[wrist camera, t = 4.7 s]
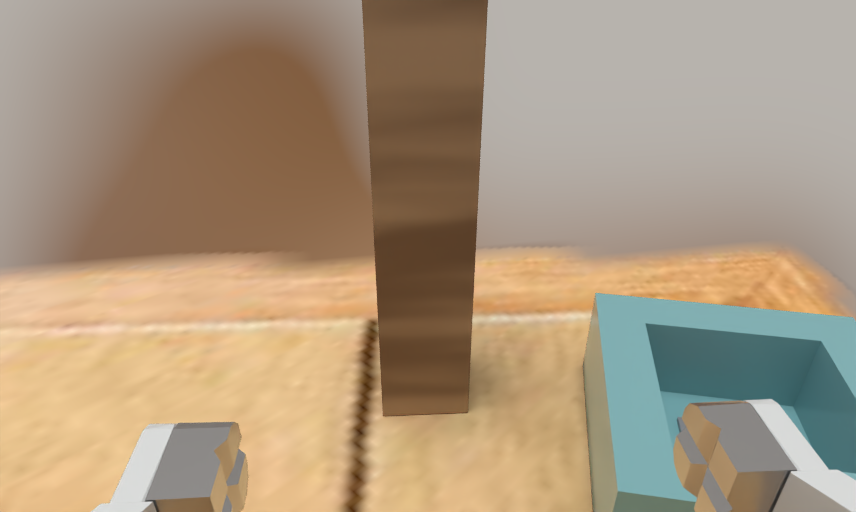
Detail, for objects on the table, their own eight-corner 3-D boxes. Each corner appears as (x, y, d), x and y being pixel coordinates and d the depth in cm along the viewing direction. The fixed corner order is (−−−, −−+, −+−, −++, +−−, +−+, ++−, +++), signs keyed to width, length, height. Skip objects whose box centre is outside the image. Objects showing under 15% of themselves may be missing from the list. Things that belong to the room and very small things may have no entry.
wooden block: (467, 412, 25) (492, -85, 16) (383, 415, 25) (357, -85, 16) (459, 356, 28) (475, -89, 19) (383, 359, 28) (362, -89, 19)
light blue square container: (946, 629, 18) (1014, 546, 16) (597, 573, 19) (618, 491, 17) (819, 391, 26) (852, 317, 24) (582, 365, 28) (595, 293, 26)
